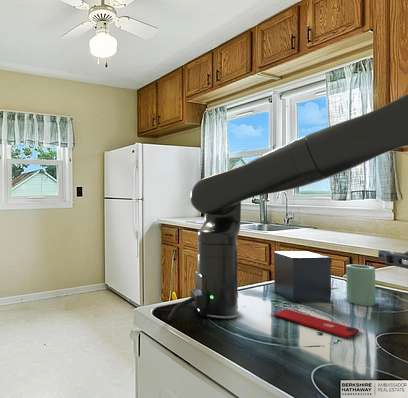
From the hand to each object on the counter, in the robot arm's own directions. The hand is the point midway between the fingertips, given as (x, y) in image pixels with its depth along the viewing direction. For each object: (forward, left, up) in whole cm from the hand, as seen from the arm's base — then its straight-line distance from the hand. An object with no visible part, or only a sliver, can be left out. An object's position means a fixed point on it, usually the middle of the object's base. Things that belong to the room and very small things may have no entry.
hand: (398, 254), depth 75 cm
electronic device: (-22, -4, -15) cm, 27 cm away
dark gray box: (-13, +16, -15) cm, 25 cm away
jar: (0, +11, -15) cm, 18 cm away
